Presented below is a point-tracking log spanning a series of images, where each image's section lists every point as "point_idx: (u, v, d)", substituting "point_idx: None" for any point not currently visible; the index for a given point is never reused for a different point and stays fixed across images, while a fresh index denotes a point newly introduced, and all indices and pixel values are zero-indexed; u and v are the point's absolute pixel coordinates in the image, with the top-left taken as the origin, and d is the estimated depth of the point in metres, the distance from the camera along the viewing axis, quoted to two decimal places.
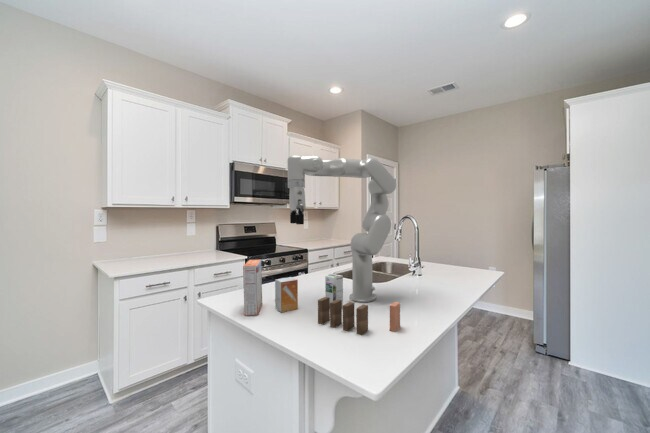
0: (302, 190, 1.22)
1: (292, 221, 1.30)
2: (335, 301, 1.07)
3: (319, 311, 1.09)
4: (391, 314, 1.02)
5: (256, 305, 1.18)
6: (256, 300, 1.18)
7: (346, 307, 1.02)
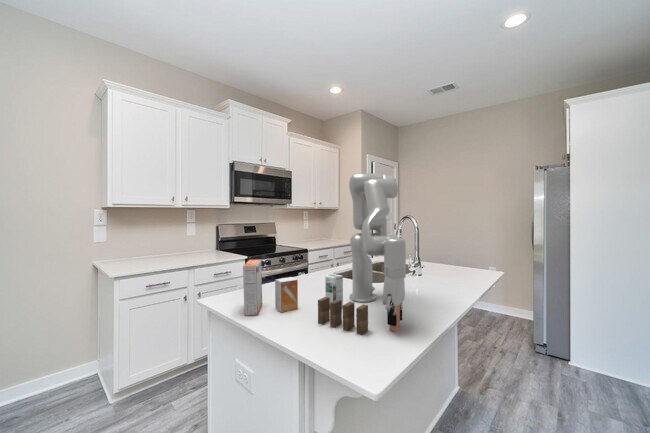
0: None
1: None
2: (335, 301, 1.07)
3: (319, 311, 1.09)
4: None
5: (256, 305, 1.18)
6: (256, 300, 1.18)
7: (346, 307, 1.02)
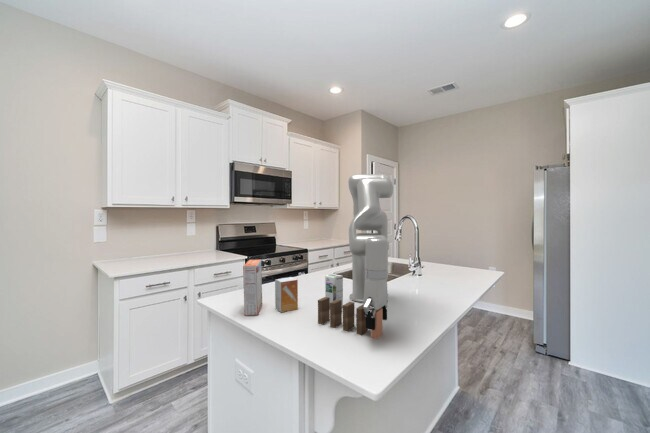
0: None
1: None
2: (335, 301, 1.07)
3: (319, 311, 1.09)
4: None
5: (256, 305, 1.18)
6: (256, 300, 1.18)
7: (346, 307, 1.02)
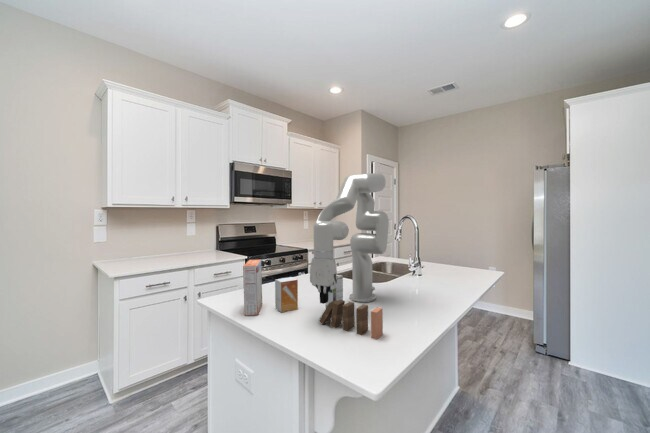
0: None
1: None
2: (338, 302, 1.06)
3: (325, 313, 1.07)
4: (372, 320, 0.96)
5: (256, 305, 1.18)
6: (256, 300, 1.18)
7: (346, 307, 1.02)
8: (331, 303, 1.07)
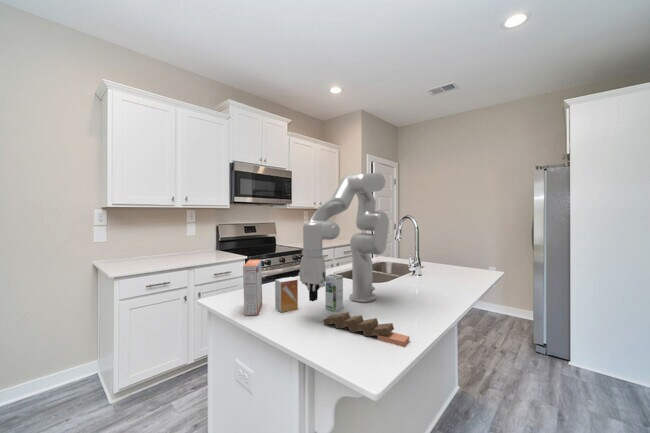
0: None
1: None
2: (359, 320, 1.02)
3: (332, 319, 1.05)
4: (394, 341, 0.92)
5: (256, 305, 1.18)
6: (256, 300, 1.18)
7: (370, 327, 0.97)
8: (343, 316, 1.04)
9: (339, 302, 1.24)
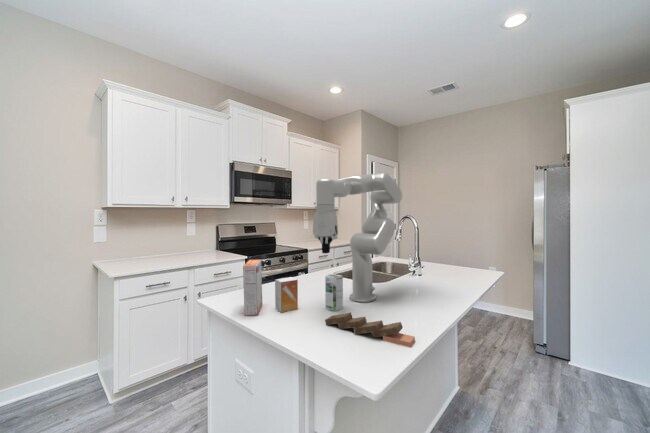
0: None
1: None
2: (362, 321, 1.01)
3: (335, 320, 1.05)
4: (400, 342, 0.92)
5: (256, 305, 1.18)
6: (256, 300, 1.18)
7: (376, 330, 0.95)
8: (346, 317, 1.04)
9: (339, 302, 1.24)
